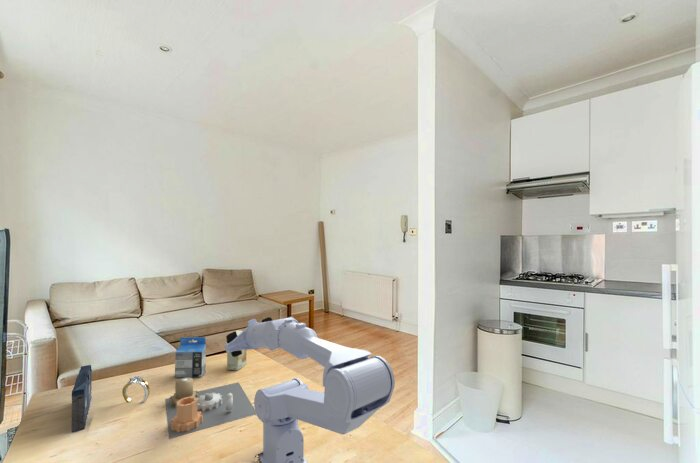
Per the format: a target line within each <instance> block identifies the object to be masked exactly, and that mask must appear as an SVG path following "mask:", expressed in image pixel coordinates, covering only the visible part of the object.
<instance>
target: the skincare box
mask: <svg viewBox="0 0 700 463" xmlns="http://www.w3.org/2000/svg"><path fill="white" fill-rule="evenodd" d="M235 331H236V333H237V336H238V335H239V334H240V333H241V332H242V331H243V330H235ZM241 351H242V354H241V355H239V356H237V357H233V356H232V354H231V352H230V353H227V352H226V353H227V354H226V360H227V361H226V362H227V363H226V370H230V371H239V370H240V369H241V368H243V367H245V366H246V365H247V350H241Z"/></svg>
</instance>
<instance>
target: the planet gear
mask: <svg viewBox="0 0 700 463" xmlns="http://www.w3.org/2000/svg"><path fill="white" fill-rule="evenodd" d="M202 421H203V415H202V412H201V411H200V412H198V411H197V397H191V396H190V397H185V398H182V399H180V400H179V401H177V415H175V417H174V418H172V419H171V430H172V431H173V430H176V431H177V432H181V431H182V432H183V431H186V430H187V431H190V429H193V428H195V427H196V428H197V427H198V426H199V424H200V423H202Z"/></svg>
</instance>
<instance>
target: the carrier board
mask: <svg viewBox="0 0 700 463" xmlns="http://www.w3.org/2000/svg"><path fill="white" fill-rule="evenodd" d="M193 378H194V377H181V378H179V379H177V380H176V381H175V385H174V386H175V389H174V390H175V392H174V393H173V395H170V397H168V398H164V399H165V408H166V417H167V418H166V420H167V429H168V430H167V432H168V440H171V439H174V438H178V437H181V436H184V435H188V434H191V433H196V432H198V431H202V430H205V429H210V428H212V427H215V426H220V425H224V424H227V423H230V422H234V421H237V420H241V419H245V418H247V417H252V416H255V415H257V414H256V411H255V407H254V405H253V404H252V402H251V400H250V399H249V398H248V396H247V394H246V392H245V390H244V388H243V387H242V386H241V384H240V382H238V381H237V382H233V383H230V384H224V385H220V386H215V387H212V388H207V389H203V390H194V379H193ZM190 396H191V397H197V411H198V412H200V411H201V412H202V415H203V421H202V423H200V424H199V426H198V427H197V428H196V427H195V428H193V429H190V431H187V430H186V431H183V432H182V431H181V432H177V431H176V430H173V431H172V430H171V419H172V418H174V417H175V415H177V401H179V400H180V399H182V398H185V397H190Z"/></svg>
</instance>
